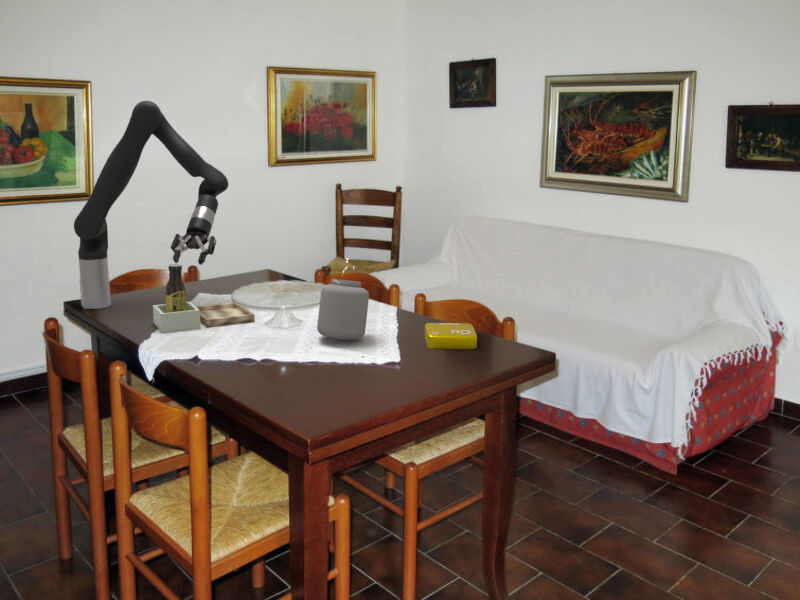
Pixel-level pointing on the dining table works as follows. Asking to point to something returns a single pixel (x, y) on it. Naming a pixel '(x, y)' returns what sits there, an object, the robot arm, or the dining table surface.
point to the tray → (224, 315)
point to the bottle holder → (176, 318)
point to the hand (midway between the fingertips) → (187, 262)
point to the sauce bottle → (175, 290)
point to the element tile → (450, 336)
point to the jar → (343, 310)
